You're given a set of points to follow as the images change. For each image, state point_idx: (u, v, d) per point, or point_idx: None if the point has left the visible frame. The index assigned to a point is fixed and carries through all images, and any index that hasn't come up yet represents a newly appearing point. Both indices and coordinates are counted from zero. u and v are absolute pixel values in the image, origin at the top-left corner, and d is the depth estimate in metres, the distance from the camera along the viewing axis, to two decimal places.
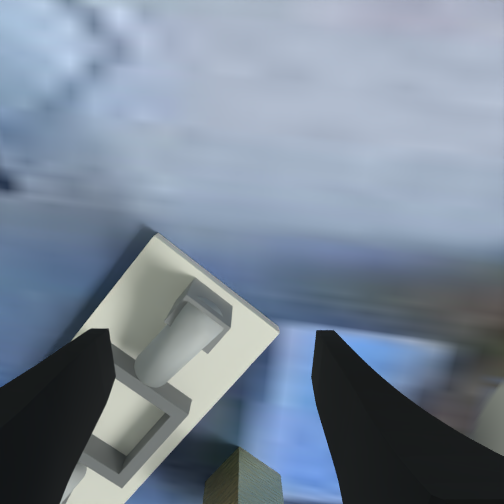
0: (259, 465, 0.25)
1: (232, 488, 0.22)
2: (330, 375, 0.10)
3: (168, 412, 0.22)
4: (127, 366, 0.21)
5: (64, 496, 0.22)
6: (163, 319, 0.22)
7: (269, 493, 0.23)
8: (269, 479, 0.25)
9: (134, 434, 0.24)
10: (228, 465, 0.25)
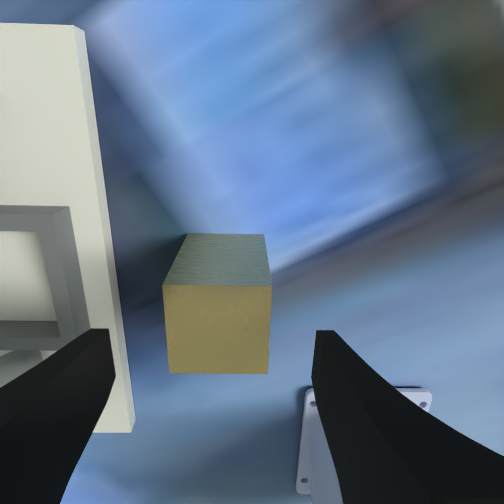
0: (223, 236, 0.18)
1: None
2: (330, 376, 0.10)
3: (31, 228, 0.15)
4: None
5: None
6: None
7: (238, 249, 0.16)
8: (241, 241, 0.17)
9: None
10: None
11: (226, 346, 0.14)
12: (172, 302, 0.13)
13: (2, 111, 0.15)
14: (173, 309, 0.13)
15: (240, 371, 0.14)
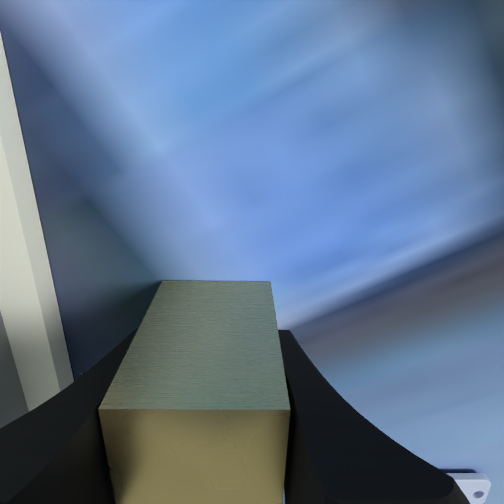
0: (213, 287, 0.12)
1: None
2: None
3: None
4: None
5: None
6: None
7: (233, 314, 0.11)
8: (238, 296, 0.12)
9: None
10: None
11: (213, 495, 0.08)
12: (118, 434, 0.07)
13: None
14: (120, 445, 0.07)
15: None
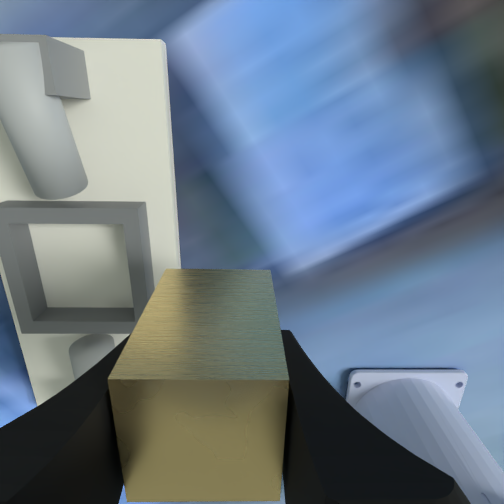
0: (214, 274, 0.13)
1: None
2: None
3: (117, 221, 0.17)
4: (41, 205, 0.17)
5: None
6: None
7: (235, 298, 0.11)
8: (239, 282, 0.12)
9: (129, 280, 0.20)
10: None
11: (215, 466, 0.09)
12: (126, 404, 0.08)
13: (92, 116, 0.17)
14: (128, 415, 0.08)
15: (238, 498, 0.09)
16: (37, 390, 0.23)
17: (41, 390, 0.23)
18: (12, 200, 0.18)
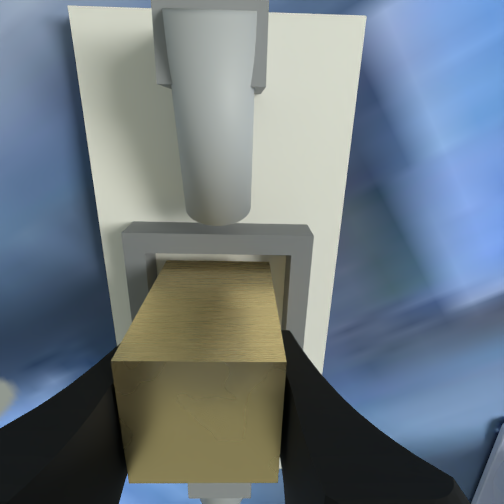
0: (214, 265, 0.13)
1: None
2: None
3: (284, 252, 0.13)
4: (186, 229, 0.13)
5: None
6: None
7: (234, 287, 0.11)
8: (238, 273, 0.12)
9: None
10: None
11: (215, 447, 0.09)
12: (128, 386, 0.08)
13: (258, 116, 0.13)
14: (130, 396, 0.08)
15: (237, 480, 0.09)
16: None
17: None
18: (139, 221, 0.14)
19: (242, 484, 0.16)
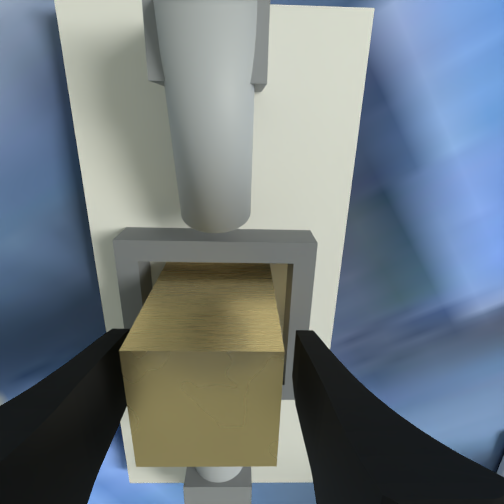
0: None
1: None
2: (306, 375, 0.10)
3: (286, 260, 0.12)
4: (181, 236, 0.12)
5: None
6: None
7: (235, 282, 0.12)
8: (239, 268, 0.13)
9: None
10: None
11: (217, 433, 0.09)
12: (135, 375, 0.09)
13: (259, 116, 0.12)
14: (137, 384, 0.09)
15: (238, 463, 0.10)
16: (131, 457, 0.18)
17: None
18: (133, 227, 0.13)
19: (241, 502, 0.16)
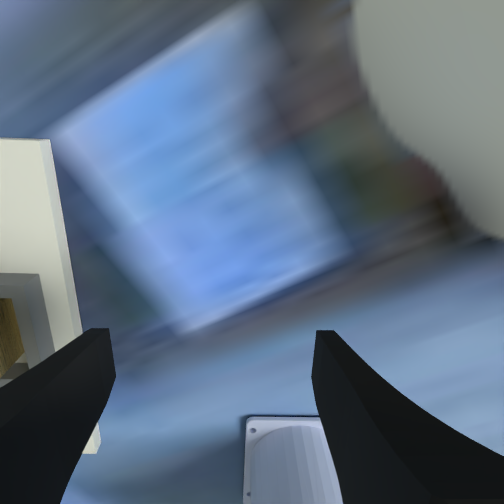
0: None
1: None
2: (330, 375, 0.10)
3: (5, 296, 0.19)
4: None
5: None
6: None
7: None
8: None
9: None
10: None
11: None
12: None
13: None
14: None
15: None
16: None
17: None
18: None
19: None
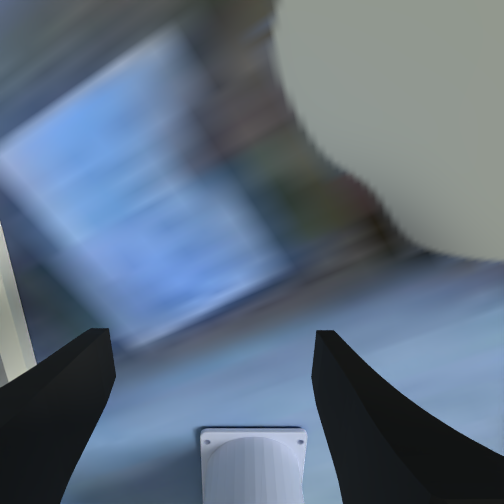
0: None
1: None
2: (330, 375, 0.10)
3: None
4: None
5: None
6: None
7: None
8: None
9: None
10: None
11: None
12: None
13: None
14: None
15: None
16: None
17: None
18: None
19: None
